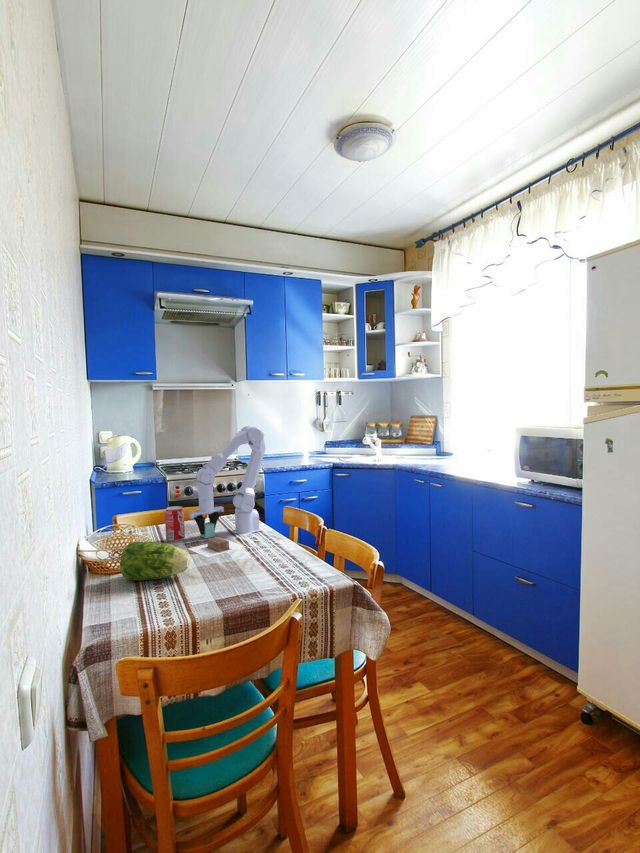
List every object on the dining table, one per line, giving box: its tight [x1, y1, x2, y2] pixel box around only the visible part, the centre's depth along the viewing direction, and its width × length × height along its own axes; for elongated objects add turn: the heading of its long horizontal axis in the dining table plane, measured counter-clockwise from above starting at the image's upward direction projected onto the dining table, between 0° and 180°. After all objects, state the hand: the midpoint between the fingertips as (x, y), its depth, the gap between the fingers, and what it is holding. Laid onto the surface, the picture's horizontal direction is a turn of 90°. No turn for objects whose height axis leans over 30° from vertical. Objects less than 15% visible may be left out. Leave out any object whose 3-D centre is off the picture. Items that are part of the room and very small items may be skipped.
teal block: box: [199, 521, 216, 539], centre depth 181 cm, size 4×4×5 cm
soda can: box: [164, 505, 186, 543], centre depth 179 cm, size 7×7×13 cm
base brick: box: [206, 536, 230, 552], centre depth 166 cm, size 4×8×3 cm, turn 45°
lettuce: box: [119, 541, 191, 581], centre depth 139 cm, size 12×21×11 cm, turn 90°
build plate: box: [188, 538, 246, 558], centre depth 167 cm, size 16×14×1 cm
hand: (207, 532), depth 181 cm, fingers closed on teal block, 4 cm apart
